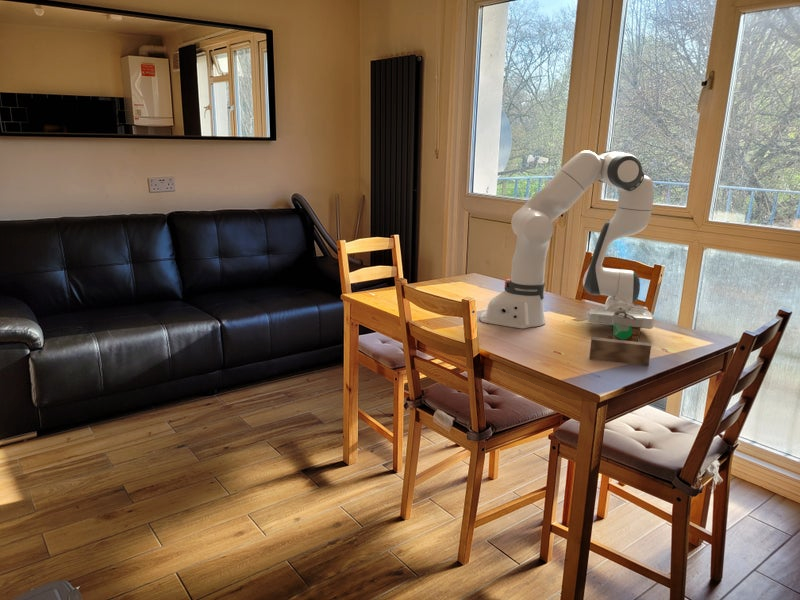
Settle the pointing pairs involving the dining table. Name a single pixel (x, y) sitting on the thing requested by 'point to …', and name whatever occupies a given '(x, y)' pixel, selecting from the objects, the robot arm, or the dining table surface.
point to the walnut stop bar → (620, 351)
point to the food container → (626, 326)
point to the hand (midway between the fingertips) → (621, 325)
